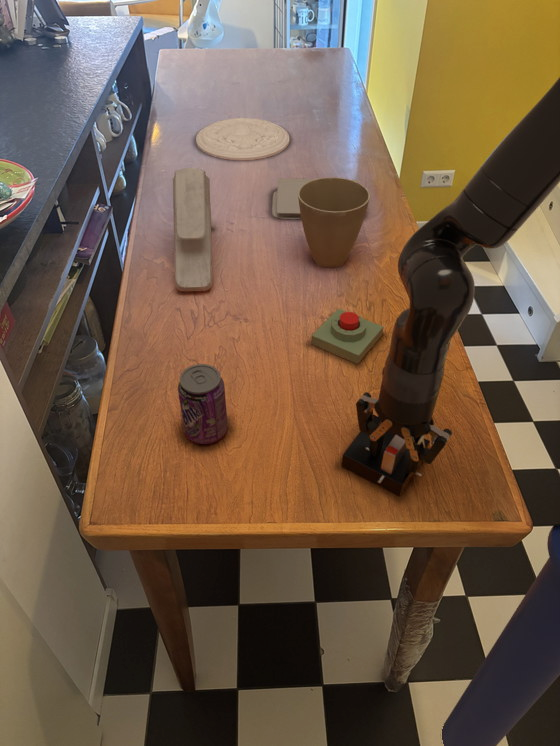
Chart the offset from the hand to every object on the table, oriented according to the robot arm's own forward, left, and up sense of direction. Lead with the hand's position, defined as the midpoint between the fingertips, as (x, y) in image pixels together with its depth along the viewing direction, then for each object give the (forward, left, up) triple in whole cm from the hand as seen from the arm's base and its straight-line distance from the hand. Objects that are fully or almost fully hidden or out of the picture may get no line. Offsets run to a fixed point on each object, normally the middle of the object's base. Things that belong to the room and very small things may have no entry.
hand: (393, 461), depth 90 cm
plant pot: (+38, -46, -3) cm, 60 cm away
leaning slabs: (+63, -30, -3) cm, 70 cm away
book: (+53, -66, -3) cm, 85 cm away
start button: (+21, -24, 0) cm, 32 cm away
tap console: (+1, -1, -3) cm, 4 cm away
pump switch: (+21, -24, -3) cm, 32 cm away
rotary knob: (0, 0, 0) cm, 0 cm away
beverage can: (+29, +9, -3) cm, 31 cm away
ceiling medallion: (+92, -87, -3) cm, 127 cm away
